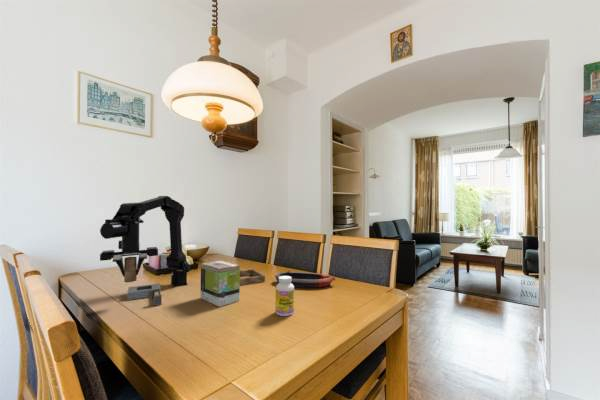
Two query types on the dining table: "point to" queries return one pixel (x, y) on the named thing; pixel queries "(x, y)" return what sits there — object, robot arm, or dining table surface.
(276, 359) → the dining table surface
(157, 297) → the lock pin
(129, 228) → the robot arm
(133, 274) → the peg
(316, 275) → the dish
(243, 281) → the trivet
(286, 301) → the supplement bottle
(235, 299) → the tea box
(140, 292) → the mount
